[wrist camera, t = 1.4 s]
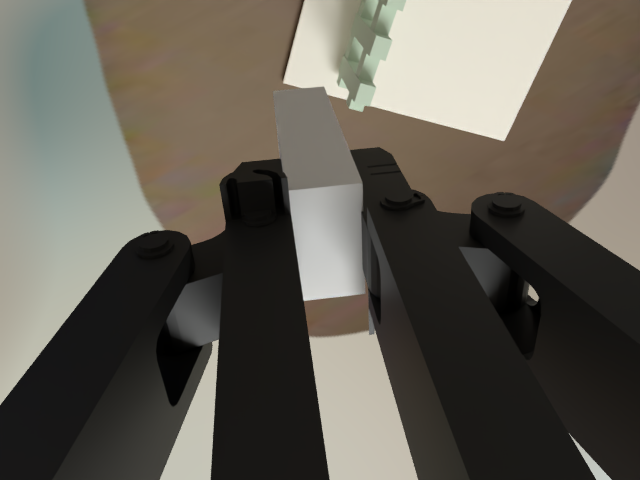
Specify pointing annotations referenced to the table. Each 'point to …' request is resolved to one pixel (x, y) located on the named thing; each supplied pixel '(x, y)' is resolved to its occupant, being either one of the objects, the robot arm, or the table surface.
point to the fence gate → (367, 50)
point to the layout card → (436, 57)
